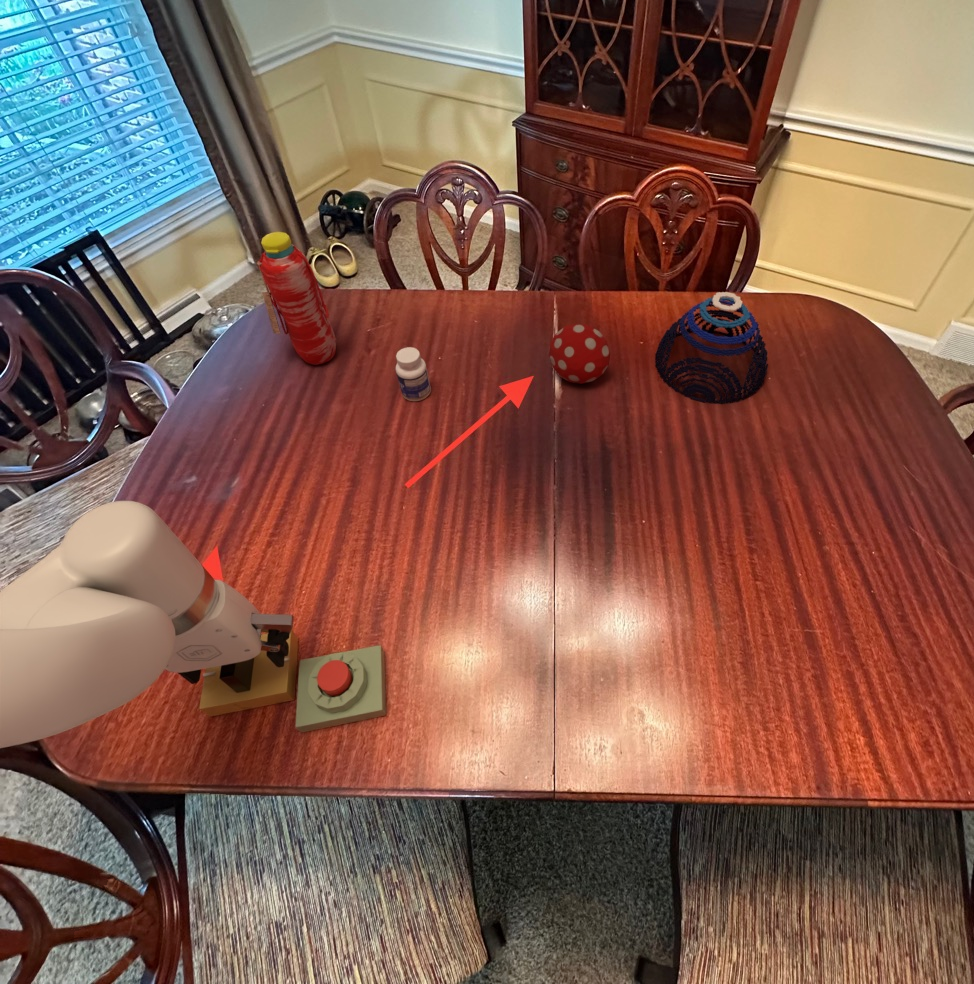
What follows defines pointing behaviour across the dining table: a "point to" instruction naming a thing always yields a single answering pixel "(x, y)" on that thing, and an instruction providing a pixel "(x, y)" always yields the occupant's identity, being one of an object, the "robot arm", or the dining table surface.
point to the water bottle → (296, 299)
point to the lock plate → (252, 684)
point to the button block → (351, 705)
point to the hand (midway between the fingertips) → (240, 663)
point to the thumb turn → (238, 675)
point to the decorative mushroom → (579, 353)
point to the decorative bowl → (714, 350)
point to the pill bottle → (412, 374)
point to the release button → (334, 677)
